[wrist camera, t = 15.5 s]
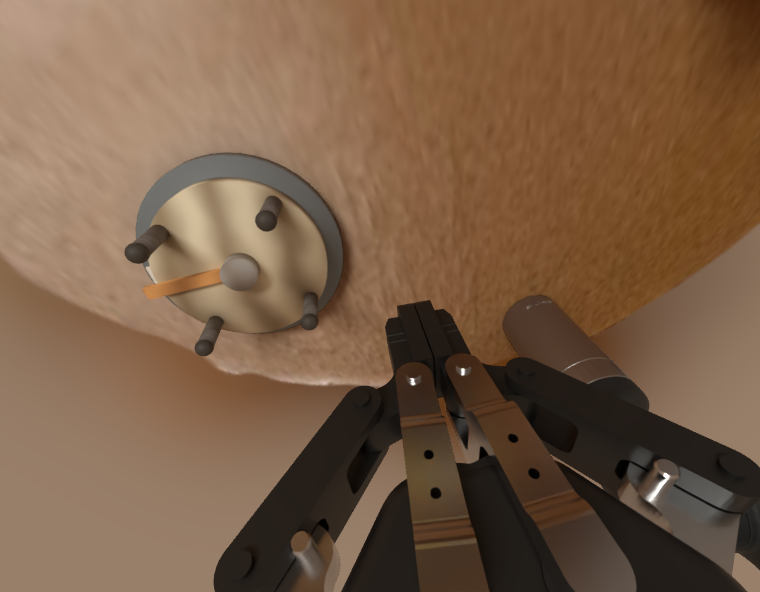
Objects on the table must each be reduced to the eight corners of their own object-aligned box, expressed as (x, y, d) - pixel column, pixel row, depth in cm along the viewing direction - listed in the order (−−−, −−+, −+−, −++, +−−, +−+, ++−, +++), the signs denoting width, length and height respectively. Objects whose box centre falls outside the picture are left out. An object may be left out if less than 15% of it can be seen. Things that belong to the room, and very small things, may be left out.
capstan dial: (295, 156, 35) (288, 176, 29) (345, 304, 47) (347, 342, 40) (101, 205, 36) (49, 236, 29) (197, 340, 47) (176, 384, 40)
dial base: (356, 309, 50) (357, 318, 49) (196, 337, 50) (191, 347, 48) (320, 136, 37) (319, 139, 35) (99, 171, 36) (87, 177, 34)
